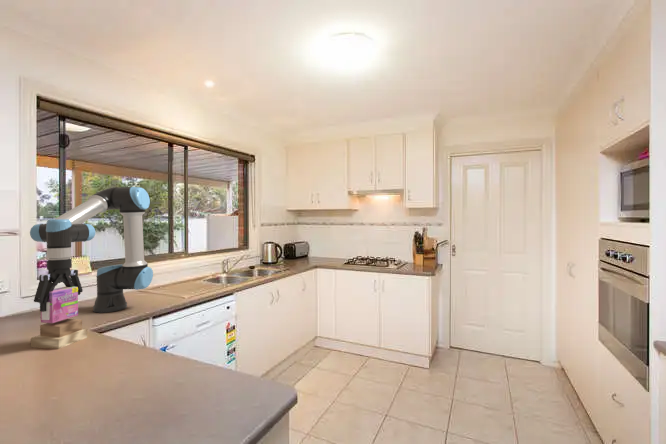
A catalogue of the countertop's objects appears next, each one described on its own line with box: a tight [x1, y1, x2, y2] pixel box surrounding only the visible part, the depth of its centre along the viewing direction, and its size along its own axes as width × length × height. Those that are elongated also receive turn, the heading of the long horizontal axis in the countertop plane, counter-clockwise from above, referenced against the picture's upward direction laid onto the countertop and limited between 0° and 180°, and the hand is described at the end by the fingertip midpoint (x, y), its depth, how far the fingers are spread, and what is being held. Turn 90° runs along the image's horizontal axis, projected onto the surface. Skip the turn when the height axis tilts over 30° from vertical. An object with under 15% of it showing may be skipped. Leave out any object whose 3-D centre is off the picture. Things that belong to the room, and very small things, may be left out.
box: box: [40, 286, 79, 324], centre depth 130 cm, size 10×6×12 cm, turn 168°
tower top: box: [39, 318, 83, 337], centre depth 131 cm, size 9×9×4 cm
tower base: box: [30, 328, 88, 350], centre depth 130 cm, size 12×12×4 cm
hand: (60, 315), depth 130 cm, fingers closed on box, 10 cm apart
